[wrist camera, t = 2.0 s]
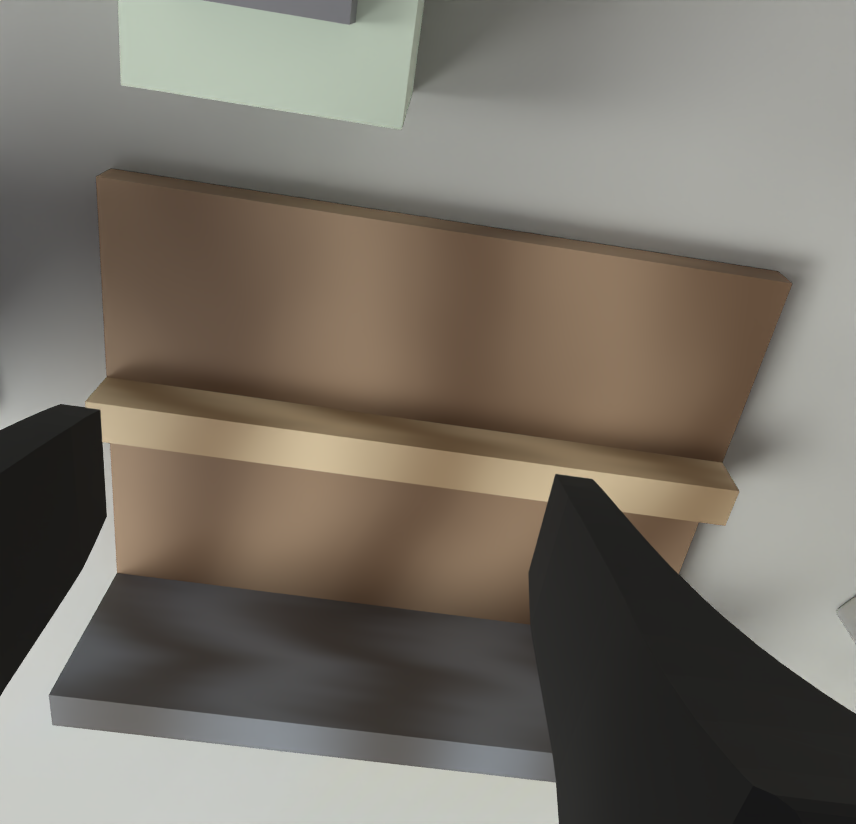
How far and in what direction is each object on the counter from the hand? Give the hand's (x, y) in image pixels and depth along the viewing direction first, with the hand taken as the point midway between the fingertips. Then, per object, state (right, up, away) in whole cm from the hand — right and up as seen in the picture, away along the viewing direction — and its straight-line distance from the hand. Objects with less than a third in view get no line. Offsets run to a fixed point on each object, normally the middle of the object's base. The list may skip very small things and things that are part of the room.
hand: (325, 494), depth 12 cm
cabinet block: (-1, +11, +6) cm, 13 cm away
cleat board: (+1, 0, +12) cm, 12 cm away
